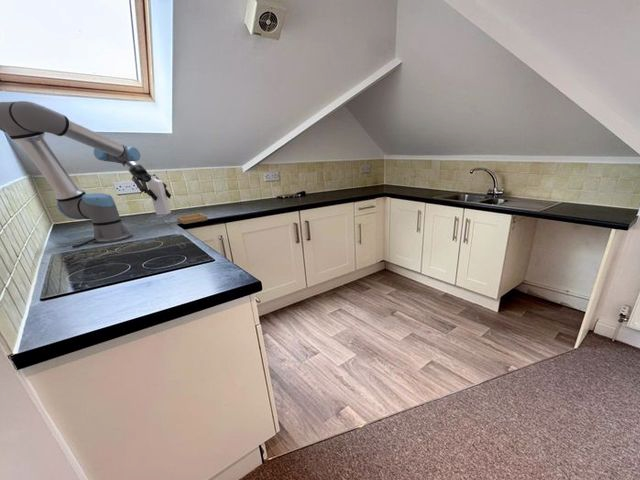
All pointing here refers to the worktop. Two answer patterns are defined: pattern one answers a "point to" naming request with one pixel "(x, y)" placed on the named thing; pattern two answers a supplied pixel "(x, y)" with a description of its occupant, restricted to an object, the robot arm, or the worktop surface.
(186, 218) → the tray
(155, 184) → the milk
